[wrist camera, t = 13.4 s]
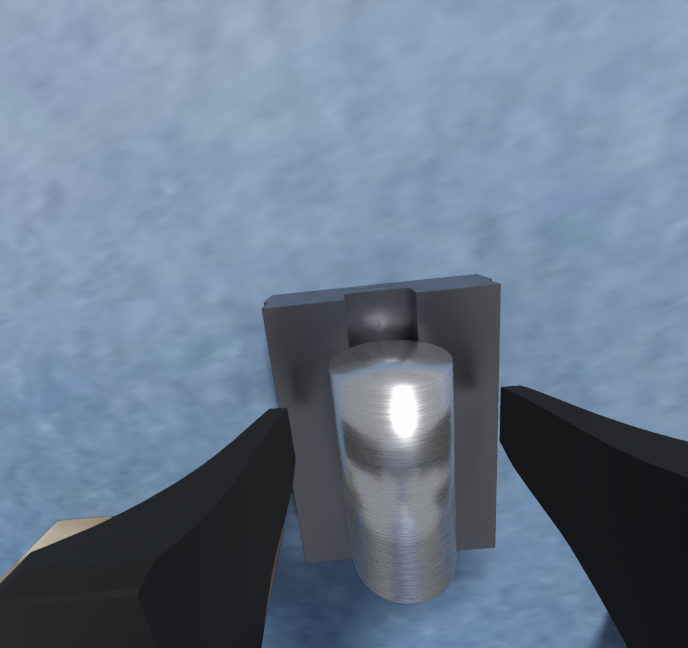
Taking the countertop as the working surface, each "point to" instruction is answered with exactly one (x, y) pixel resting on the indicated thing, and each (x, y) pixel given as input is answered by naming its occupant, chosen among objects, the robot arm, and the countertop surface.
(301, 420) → the v block
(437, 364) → the silver metal cylinder
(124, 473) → the countertop surface
